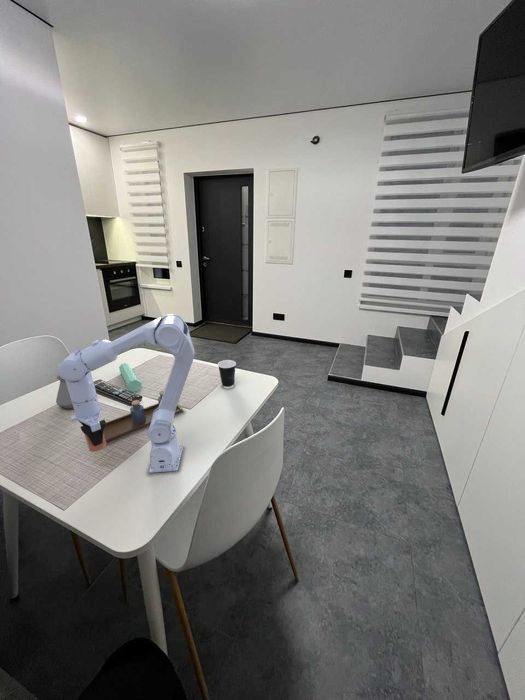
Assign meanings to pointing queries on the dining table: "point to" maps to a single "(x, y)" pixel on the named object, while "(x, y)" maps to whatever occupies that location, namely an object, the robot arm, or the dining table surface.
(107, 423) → the tray
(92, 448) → the terracotta bottle
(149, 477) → the dining table surface
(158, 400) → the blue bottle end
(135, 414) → the blue bottle middle
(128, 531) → the dining table surface
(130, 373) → the container
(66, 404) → the coffee pot
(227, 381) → the dixie cup
